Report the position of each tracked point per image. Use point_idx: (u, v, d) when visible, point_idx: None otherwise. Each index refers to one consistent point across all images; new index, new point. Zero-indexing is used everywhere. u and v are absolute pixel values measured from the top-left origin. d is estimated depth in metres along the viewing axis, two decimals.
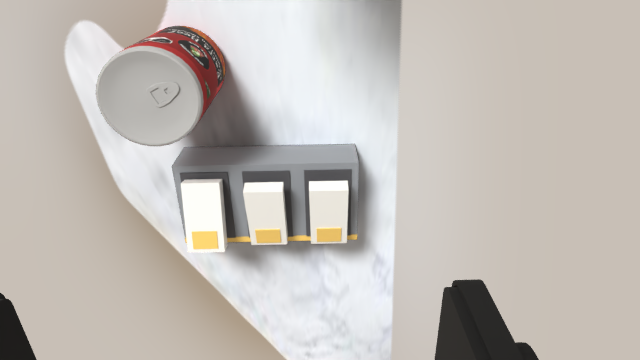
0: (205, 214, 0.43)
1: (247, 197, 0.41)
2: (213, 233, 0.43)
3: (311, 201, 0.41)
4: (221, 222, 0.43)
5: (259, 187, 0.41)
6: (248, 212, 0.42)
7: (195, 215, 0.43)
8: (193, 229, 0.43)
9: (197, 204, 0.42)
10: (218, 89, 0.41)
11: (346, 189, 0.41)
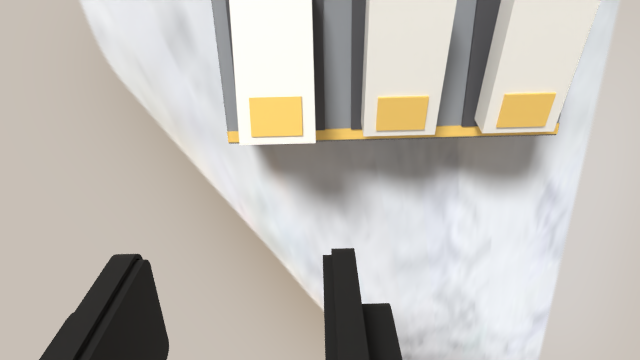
0: (279, 58, 0.20)
1: (376, 8, 0.19)
2: (294, 102, 0.21)
3: (514, 18, 0.19)
4: (311, 77, 0.20)
5: None
6: (372, 50, 0.20)
7: (257, 60, 0.20)
8: (252, 93, 0.21)
9: (262, 35, 0.20)
10: None
11: None
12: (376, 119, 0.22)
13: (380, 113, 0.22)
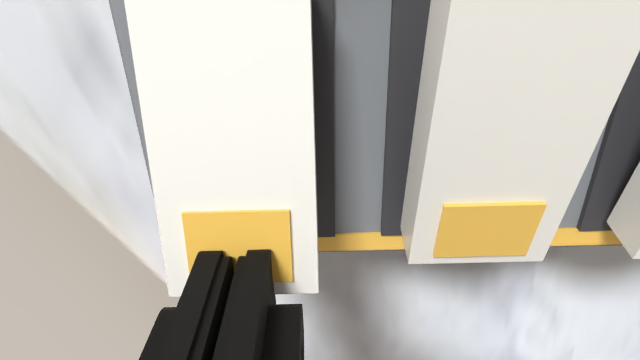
0: (241, 136, 0.10)
1: (462, 32, 0.08)
2: (274, 222, 0.10)
3: None
4: (311, 172, 0.10)
5: None
6: (441, 121, 0.09)
7: (196, 140, 0.10)
8: (189, 202, 0.10)
9: (204, 88, 0.09)
10: None
11: None
12: (436, 239, 0.11)
13: (445, 230, 0.11)
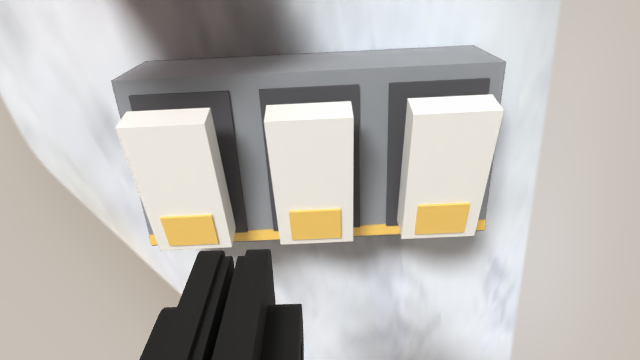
0: (183, 186, 0.20)
1: (272, 135, 0.18)
2: (205, 220, 0.21)
3: (415, 141, 0.19)
4: (219, 199, 0.20)
5: (300, 112, 0.18)
6: (275, 171, 0.19)
7: (162, 189, 0.20)
8: (163, 213, 0.21)
9: (162, 168, 0.19)
10: None
11: (498, 109, 0.18)
12: (290, 230, 0.22)
13: (293, 225, 0.21)
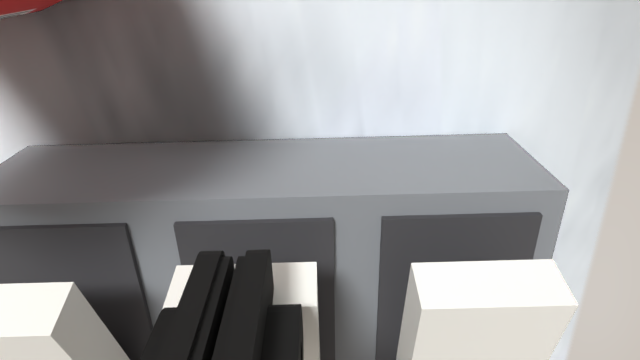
0: None
1: None
2: None
3: (423, 340, 0.11)
4: None
5: None
6: None
7: None
8: None
9: None
10: None
11: (568, 300, 0.10)
12: None
13: None
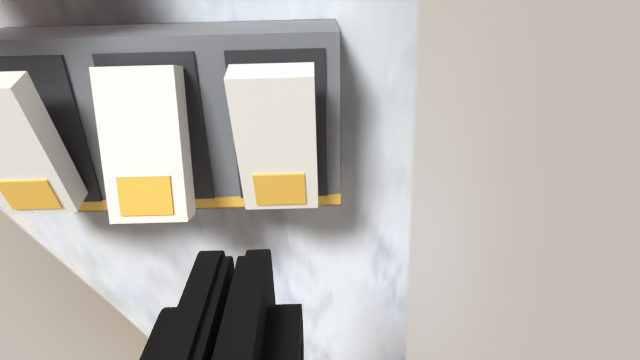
0: (8, 151, 0.20)
1: (97, 82, 0.19)
2: (41, 185, 0.21)
3: (233, 107, 0.19)
4: (50, 164, 0.20)
5: None
6: (101, 125, 0.20)
7: None
8: None
9: None
10: None
11: (309, 75, 0.18)
12: (119, 202, 0.20)
13: (122, 195, 0.20)
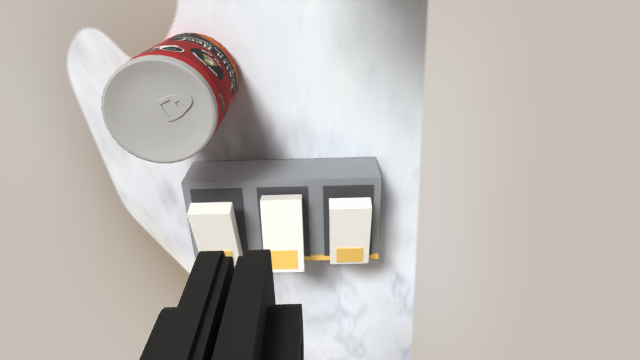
0: (217, 238, 0.40)
1: (263, 207, 0.39)
2: (227, 253, 0.41)
3: (331, 220, 0.39)
4: (235, 244, 0.40)
5: (277, 197, 0.39)
6: (264, 227, 0.40)
7: (207, 239, 0.40)
8: (206, 249, 0.41)
9: (208, 230, 0.39)
10: (231, 100, 0.38)
11: (369, 207, 0.38)
12: None
13: (272, 259, 0.40)
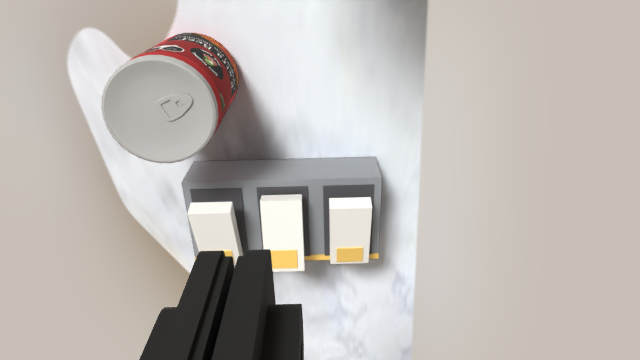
0: (218, 238, 0.40)
1: (263, 208, 0.39)
2: (227, 253, 0.41)
3: (332, 219, 0.39)
4: (235, 244, 0.40)
5: (277, 198, 0.39)
6: (264, 227, 0.40)
7: (207, 239, 0.40)
8: (206, 249, 0.41)
9: (208, 230, 0.39)
10: (231, 100, 0.38)
11: (370, 206, 0.38)
12: None
13: (272, 259, 0.41)
